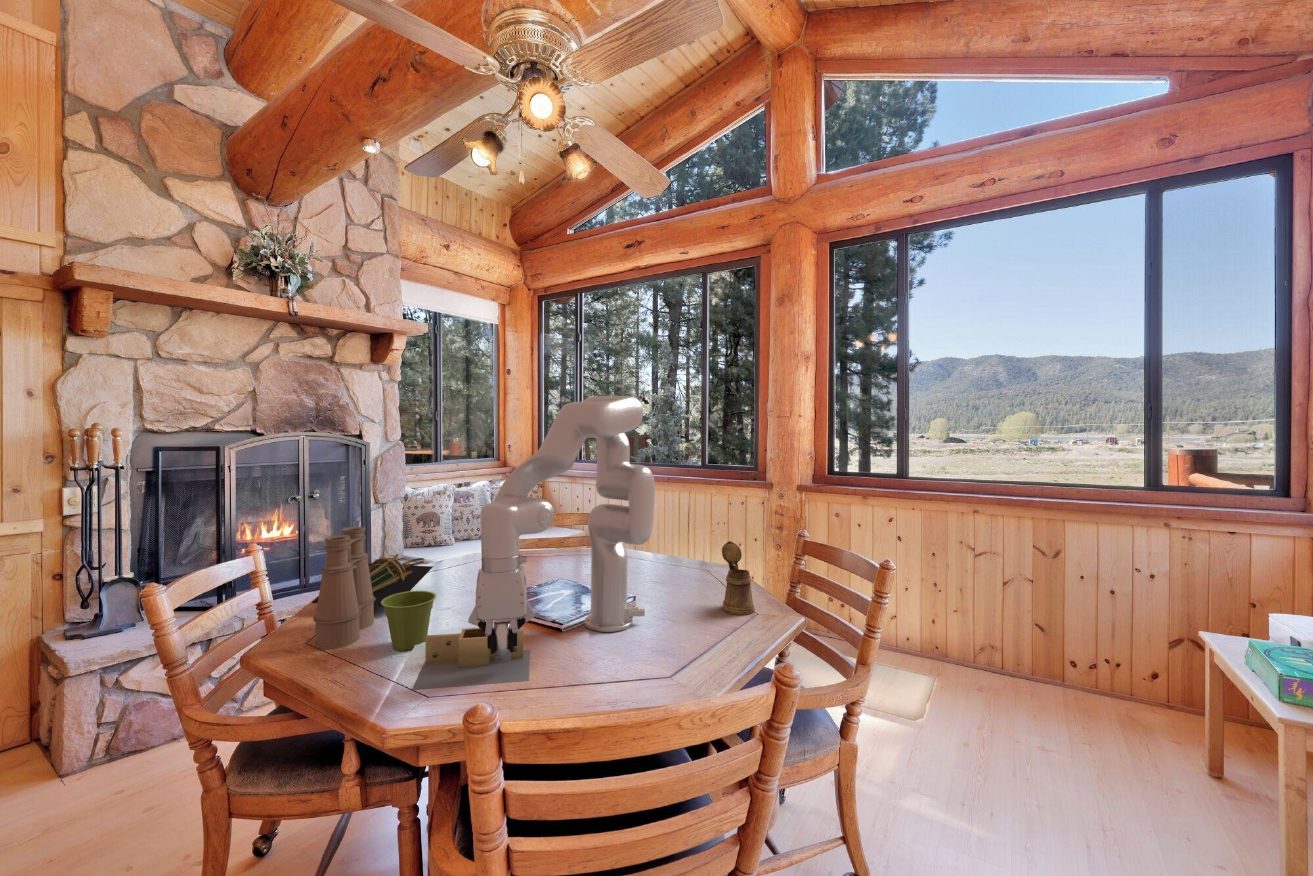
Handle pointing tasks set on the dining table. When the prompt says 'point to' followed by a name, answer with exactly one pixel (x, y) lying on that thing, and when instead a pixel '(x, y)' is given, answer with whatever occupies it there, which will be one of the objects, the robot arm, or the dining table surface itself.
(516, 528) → the robot arm
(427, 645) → the hinge
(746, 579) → the wooden mug
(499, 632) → the pin
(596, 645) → the dining table surface
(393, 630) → the plant pot
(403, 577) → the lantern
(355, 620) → the binoculars
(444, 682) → the board
